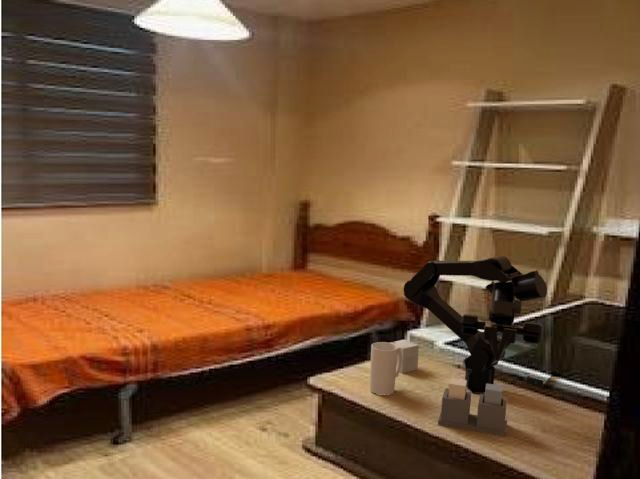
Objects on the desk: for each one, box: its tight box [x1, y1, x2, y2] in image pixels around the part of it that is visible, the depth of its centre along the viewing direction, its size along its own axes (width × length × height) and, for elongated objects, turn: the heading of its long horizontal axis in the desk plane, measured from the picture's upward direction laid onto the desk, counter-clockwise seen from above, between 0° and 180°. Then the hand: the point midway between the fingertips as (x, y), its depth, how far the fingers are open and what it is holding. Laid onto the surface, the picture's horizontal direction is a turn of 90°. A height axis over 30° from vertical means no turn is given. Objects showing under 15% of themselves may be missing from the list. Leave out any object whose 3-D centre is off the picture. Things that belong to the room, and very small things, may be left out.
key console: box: [437, 387, 508, 437], centre depth 143 cm, size 6×15×6 cm, turn 72°
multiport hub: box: [525, 375, 545, 389], centre depth 174 cm, size 4×14×2 cm, turn 147°
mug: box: [369, 341, 402, 396], centre depth 161 cm, size 10×7×12 cm, turn 129°
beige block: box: [448, 377, 467, 400], centre depth 144 cm, size 4×4×7 cm
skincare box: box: [389, 339, 420, 374], centre depth 177 cm, size 6×6×7 cm
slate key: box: [484, 383, 503, 406], centre depth 141 cm, size 4×4×7 cm
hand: (497, 360), depth 147 cm, fingers closed
